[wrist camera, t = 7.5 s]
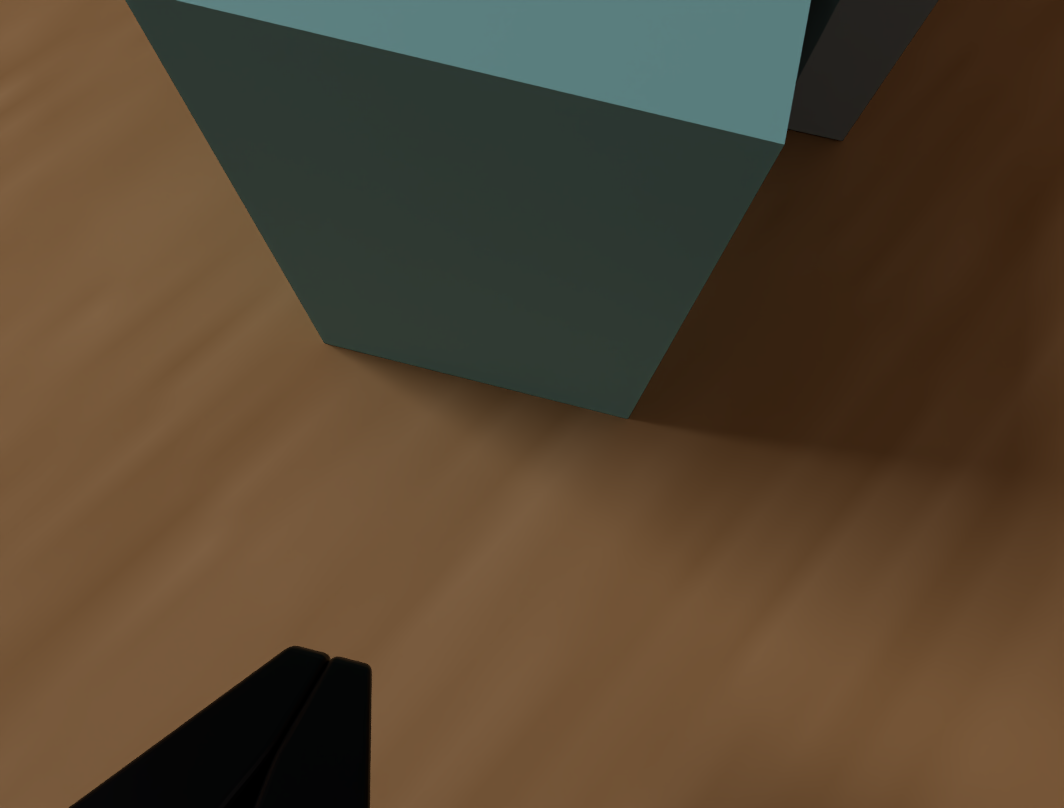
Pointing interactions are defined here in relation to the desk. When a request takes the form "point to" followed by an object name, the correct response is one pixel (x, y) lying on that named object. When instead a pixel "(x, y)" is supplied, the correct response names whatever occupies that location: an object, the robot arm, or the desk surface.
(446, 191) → the teal block
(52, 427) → the desk surface
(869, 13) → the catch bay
